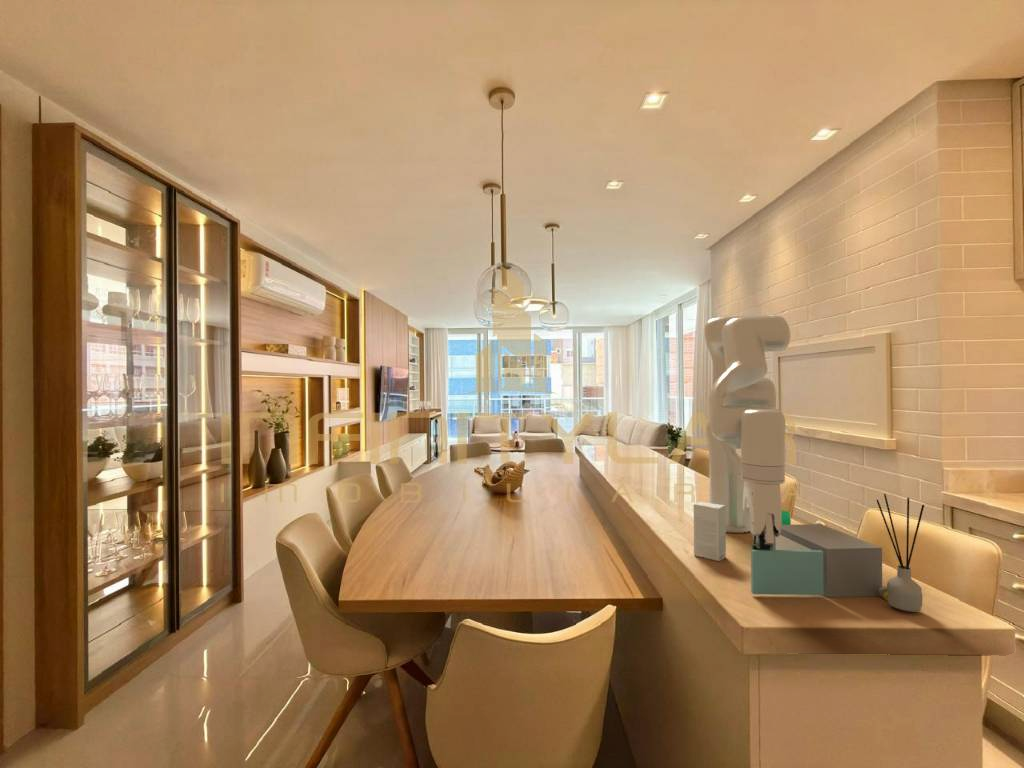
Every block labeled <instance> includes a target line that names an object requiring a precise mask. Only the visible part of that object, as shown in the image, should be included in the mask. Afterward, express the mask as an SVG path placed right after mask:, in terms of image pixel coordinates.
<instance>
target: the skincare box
mask: <svg viewBox="0 0 1024 768" xmlns="http://www.w3.org/2000/svg"><path fill="white" fill-rule="evenodd" d="M726 533H727V532H726V521H725V505H718V504H712V503H710V502H706V501H705V502H704V501H698V502H696V503H694V504H693V556H695V555H696V556H695V557H699V556H700V558H703V557H704V558H703V559H709V560H713V561H716V562H721V561H722V560H724V559H725V558H726V557H727V547H726V546H727V542H726V541H727V538H726V537H727V535H726Z"/></svg>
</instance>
